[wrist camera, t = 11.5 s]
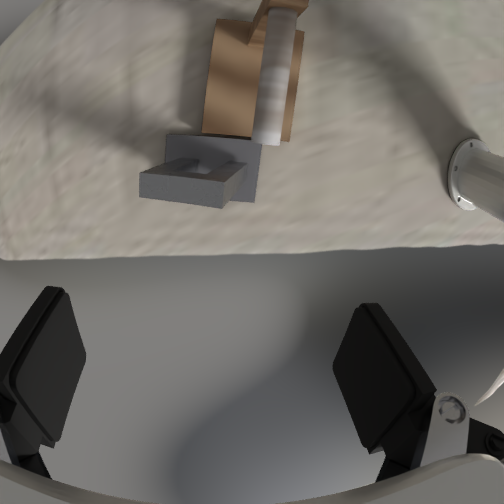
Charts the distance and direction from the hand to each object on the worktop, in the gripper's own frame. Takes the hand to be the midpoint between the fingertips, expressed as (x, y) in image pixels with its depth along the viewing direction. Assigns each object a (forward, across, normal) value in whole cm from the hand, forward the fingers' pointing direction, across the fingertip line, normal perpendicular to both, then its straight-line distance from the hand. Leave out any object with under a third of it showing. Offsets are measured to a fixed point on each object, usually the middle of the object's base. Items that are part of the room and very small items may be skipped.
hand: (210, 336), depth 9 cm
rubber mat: (+28, 0, 0) cm, 28 cm away
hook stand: (+28, -3, -11) cm, 30 cm away
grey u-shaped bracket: (+28, 0, 0) cm, 28 cm away
